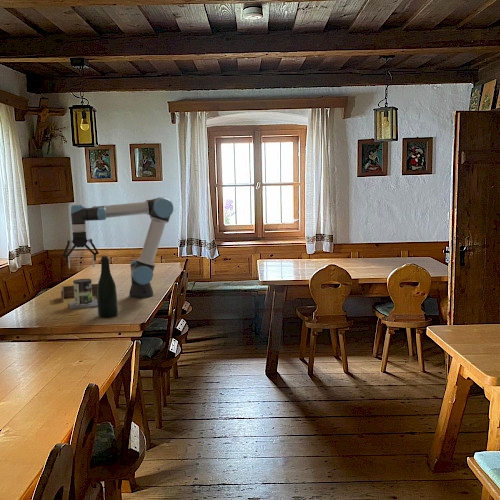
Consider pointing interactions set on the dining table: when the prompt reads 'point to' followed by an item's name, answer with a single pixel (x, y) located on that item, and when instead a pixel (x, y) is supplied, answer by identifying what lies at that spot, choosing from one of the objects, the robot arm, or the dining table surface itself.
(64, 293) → the walnut u-shaped frame
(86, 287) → the coffee can
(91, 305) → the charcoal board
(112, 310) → the green wine bottle
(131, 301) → the dining table surface
